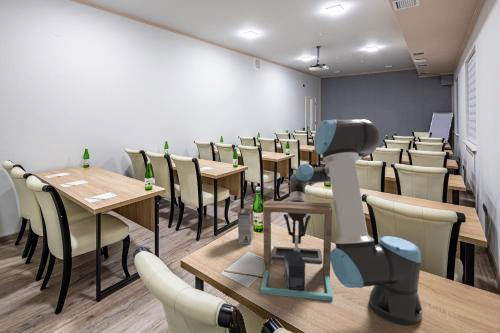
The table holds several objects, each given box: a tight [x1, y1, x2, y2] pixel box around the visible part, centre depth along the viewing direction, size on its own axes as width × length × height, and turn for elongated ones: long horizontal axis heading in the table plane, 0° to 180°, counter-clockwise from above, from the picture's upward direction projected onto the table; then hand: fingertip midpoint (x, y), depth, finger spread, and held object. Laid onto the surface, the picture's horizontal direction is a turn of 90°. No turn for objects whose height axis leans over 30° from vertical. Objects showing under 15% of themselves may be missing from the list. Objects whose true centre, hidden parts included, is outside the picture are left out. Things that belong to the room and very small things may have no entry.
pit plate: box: [271, 246, 323, 264], centre depth 122 cm, size 10×22×1 cm, turn 79°
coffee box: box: [237, 207, 255, 245], centre depth 137 cm, size 9×6×16 cm
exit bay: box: [259, 270, 334, 302], centre depth 100 cm, size 13×25×2 cm, turn 79°
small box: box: [283, 251, 306, 291], centre depth 101 cm, size 11×6×10 cm, turn 2°
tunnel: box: [262, 200, 333, 279], centre depth 108 cm, size 8×26×28 cm, turn 79°
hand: (296, 250), depth 118 cm, fingers closed
